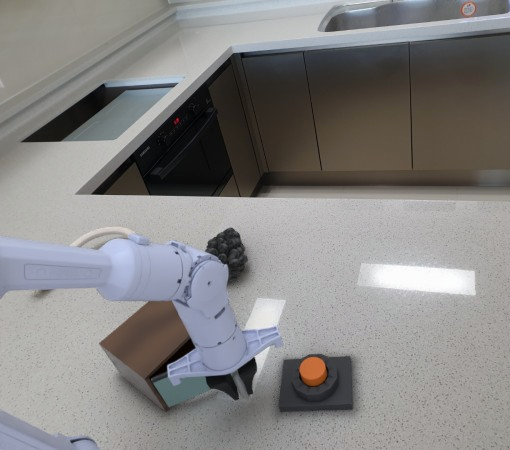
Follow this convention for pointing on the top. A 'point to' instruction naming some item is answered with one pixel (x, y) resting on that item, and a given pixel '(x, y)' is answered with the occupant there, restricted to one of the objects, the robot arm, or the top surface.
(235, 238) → the fruit
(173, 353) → the cabinet
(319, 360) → the light button
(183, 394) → the glass door
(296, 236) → the top surface
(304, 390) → the switch block
